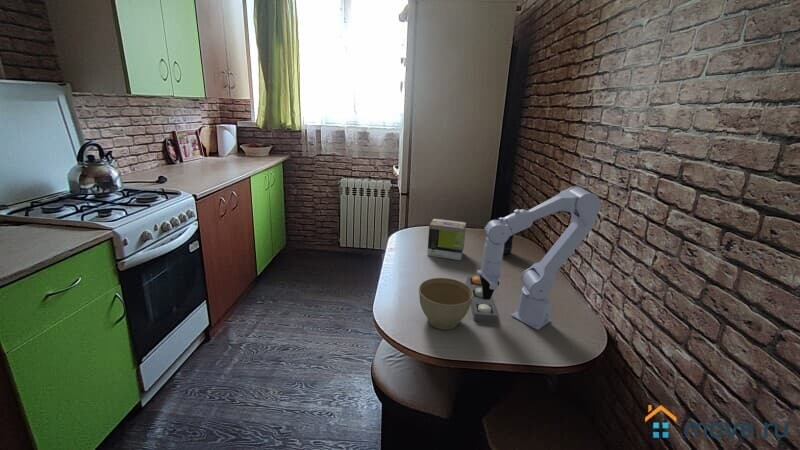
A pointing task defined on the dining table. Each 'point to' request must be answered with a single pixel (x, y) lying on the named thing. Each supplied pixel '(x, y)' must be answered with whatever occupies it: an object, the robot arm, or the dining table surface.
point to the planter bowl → (445, 301)
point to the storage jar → (507, 245)
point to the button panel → (477, 301)
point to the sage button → (478, 293)
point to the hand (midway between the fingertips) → (486, 298)
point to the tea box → (446, 239)
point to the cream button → (484, 308)
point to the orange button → (476, 280)
